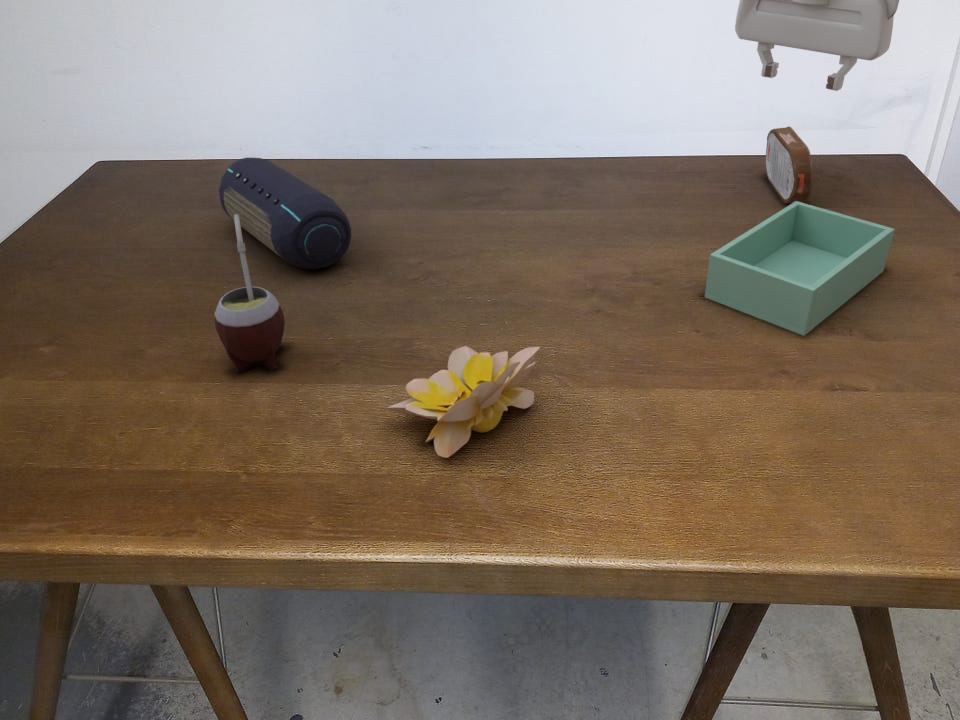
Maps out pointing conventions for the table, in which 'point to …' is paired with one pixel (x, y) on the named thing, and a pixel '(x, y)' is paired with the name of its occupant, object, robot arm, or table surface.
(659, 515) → the table surface
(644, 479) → the table surface
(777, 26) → the robot arm
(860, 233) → the bin
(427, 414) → the decorative flower
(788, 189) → the tin
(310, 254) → the portable speaker
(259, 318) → the mate gourd
